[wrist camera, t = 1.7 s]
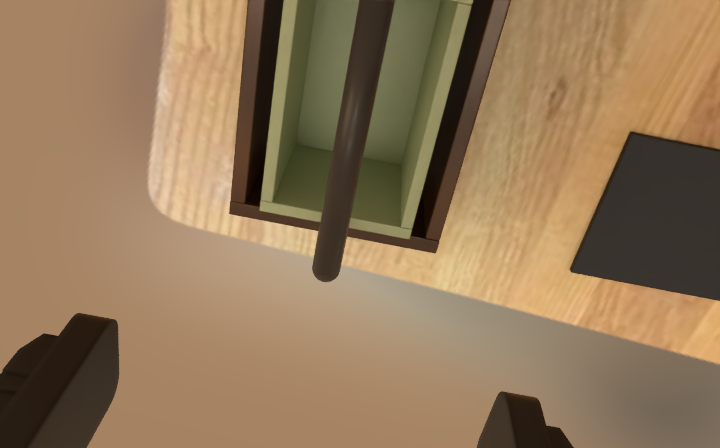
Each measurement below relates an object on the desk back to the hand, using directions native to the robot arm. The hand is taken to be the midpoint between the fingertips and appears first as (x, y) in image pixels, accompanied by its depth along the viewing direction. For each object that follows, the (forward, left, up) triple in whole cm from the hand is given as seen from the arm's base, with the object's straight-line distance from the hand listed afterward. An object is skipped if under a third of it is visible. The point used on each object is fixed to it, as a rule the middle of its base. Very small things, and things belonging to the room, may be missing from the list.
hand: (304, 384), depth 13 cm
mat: (+6, +23, -25) cm, 35 cm away
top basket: (0, 0, -25) cm, 25 cm away
